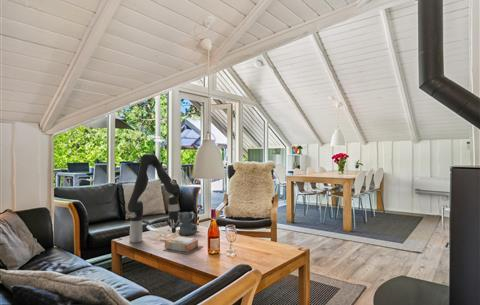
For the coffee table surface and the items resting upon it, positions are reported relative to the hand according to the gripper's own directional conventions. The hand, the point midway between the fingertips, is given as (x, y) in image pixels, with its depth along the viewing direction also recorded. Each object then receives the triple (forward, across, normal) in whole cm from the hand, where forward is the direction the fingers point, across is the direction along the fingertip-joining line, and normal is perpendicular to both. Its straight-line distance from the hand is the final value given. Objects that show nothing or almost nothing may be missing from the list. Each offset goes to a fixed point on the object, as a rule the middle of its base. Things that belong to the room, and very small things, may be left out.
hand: (173, 232), depth 232 cm
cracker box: (+8, -4, 0) cm, 9 cm away
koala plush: (+11, -16, +37) cm, 42 cm away
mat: (+11, +9, 0) cm, 14 cm away
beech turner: (+11, -13, +10) cm, 20 cm away
